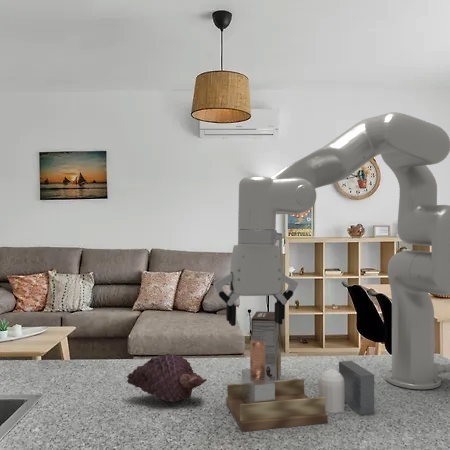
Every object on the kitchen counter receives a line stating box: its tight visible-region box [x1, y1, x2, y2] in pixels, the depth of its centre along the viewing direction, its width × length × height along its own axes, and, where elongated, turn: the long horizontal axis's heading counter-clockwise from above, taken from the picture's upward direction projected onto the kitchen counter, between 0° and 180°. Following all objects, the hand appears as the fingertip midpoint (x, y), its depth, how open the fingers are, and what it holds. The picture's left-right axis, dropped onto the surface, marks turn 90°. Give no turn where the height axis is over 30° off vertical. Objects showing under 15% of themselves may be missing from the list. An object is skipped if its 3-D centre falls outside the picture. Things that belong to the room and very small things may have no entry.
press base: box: [225, 378, 329, 433], centre depth 101 cm, size 17×14×4 cm
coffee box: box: [250, 311, 282, 381], centre depth 121 cm, size 9×6×16 cm
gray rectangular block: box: [338, 360, 375, 416], centre depth 105 cm, size 3×10×8 cm, turn 12°
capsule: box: [318, 368, 346, 414], centre depth 104 cm, size 5×5×8 cm
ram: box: [241, 340, 275, 404], centre depth 100 cm, size 4×10×13 cm, turn 12°
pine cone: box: [126, 353, 208, 403], centre depth 108 cm, size 18×10×10 cm, turn 85°
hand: (255, 323), depth 100 cm, fingers open, 9 cm apart
